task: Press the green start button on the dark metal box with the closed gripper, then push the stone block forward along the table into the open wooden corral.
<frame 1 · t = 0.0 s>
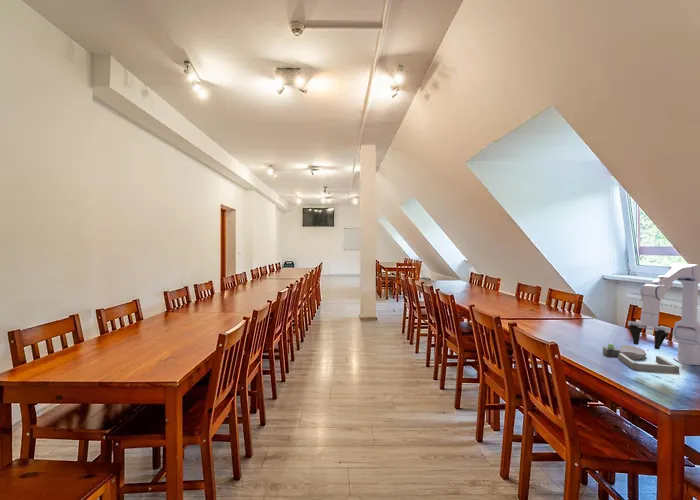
hand: (646, 346, 155), 11 cm above the table, tool pointing down, fingers open, 7 cm apart
start button: (610, 348, 179), point 3 cm above the table, slide at 0.0 cm
stone block: (632, 357, 177), on the table, touching button box
corral: (647, 365, 163), on the table
button box: (610, 354, 179), on the table
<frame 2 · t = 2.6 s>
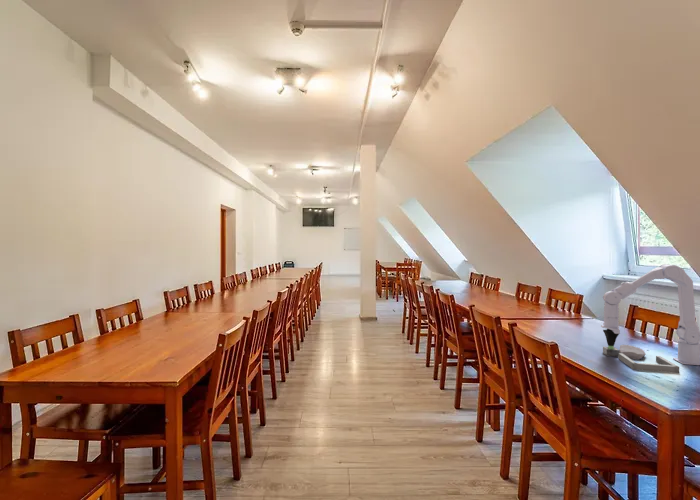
hand: (610, 345, 179), 4 cm above the table, tool pointing down, fingers closed, pressing on start button
start button: (610, 349, 179), point 2 cm above the table, slide at 0.7 cm, touching gripper
stone block: (632, 357, 177), on the table
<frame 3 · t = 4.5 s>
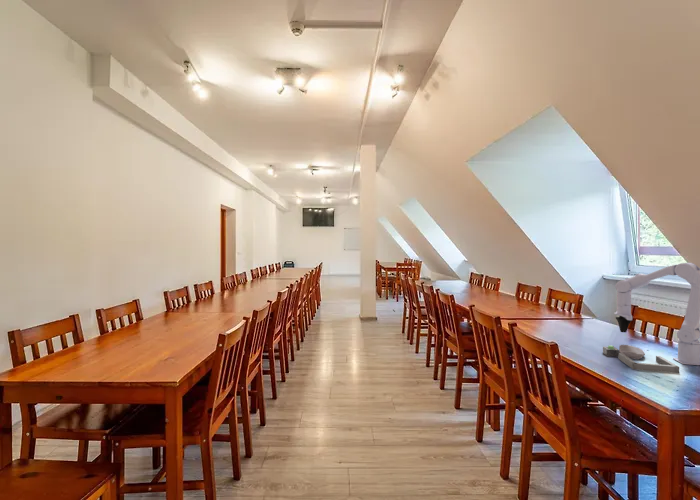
hand: (623, 332, 187), 9 cm above the table, tool pointing down, fingers closed
start button: (610, 350, 179), point 2 cm above the table, slide at 0.9 cm
everything else where it was.
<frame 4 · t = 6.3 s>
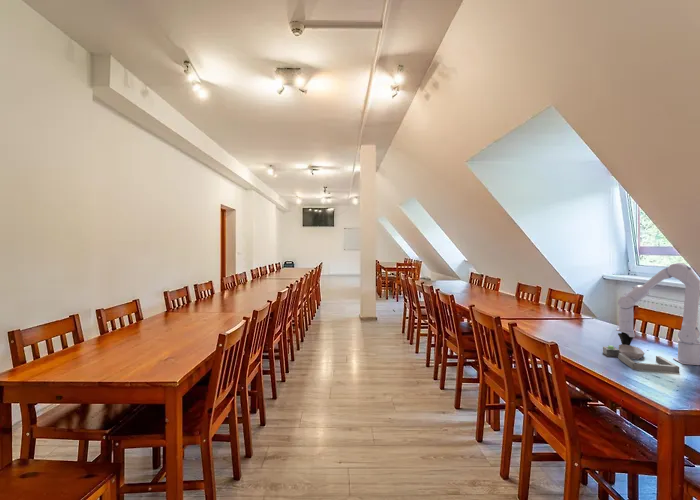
hand: (625, 348, 185), 1 cm above the table, tool pointing down, fingers closed
stone block: (631, 356, 178), on the table, touching gripper
everything else where it was.
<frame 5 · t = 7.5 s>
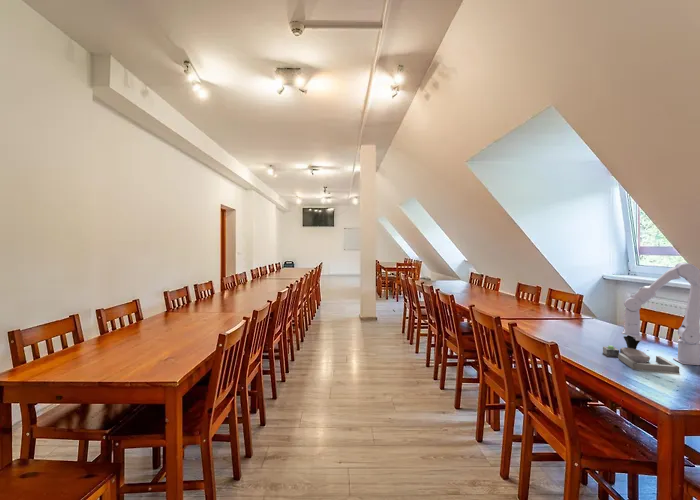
hand: (631, 352, 178), 1 cm above the table, tool pointing down, fingers closed
stone block: (635, 360, 172), on the table, touching gripper
everything else where it was.
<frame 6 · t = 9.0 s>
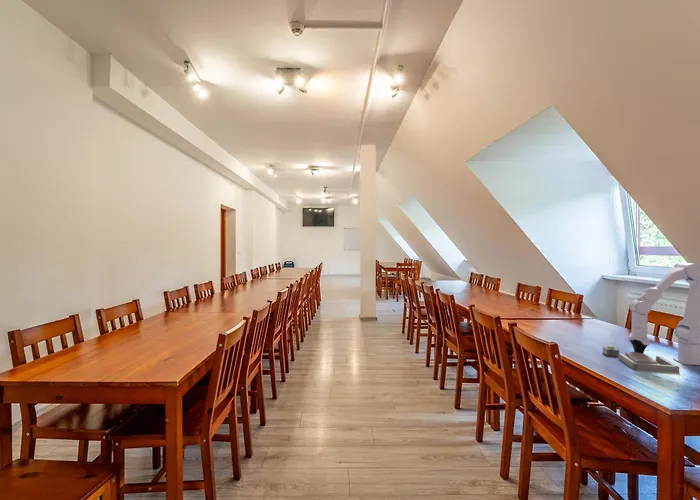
hand: (638, 356, 171), 1 cm above the table, tool pointing down, fingers closed
stone block: (642, 365, 165), on the table
everything else where it was.
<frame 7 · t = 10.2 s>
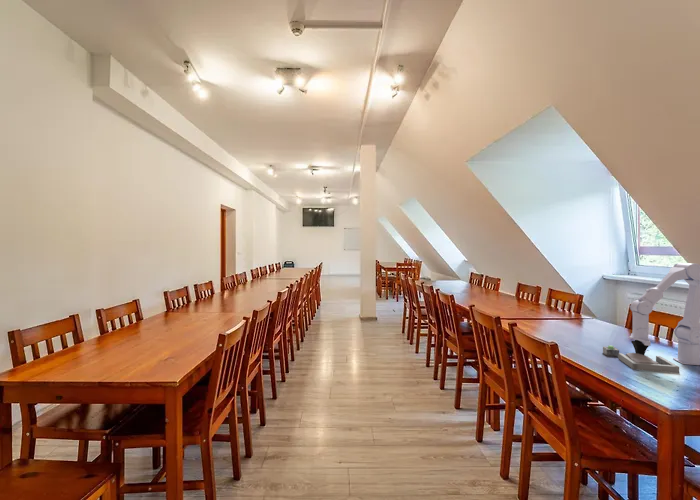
hand: (639, 357, 170), 1 cm above the table, tool pointing down, fingers closed
stone block: (642, 366, 164), on the table
everything else where it was.
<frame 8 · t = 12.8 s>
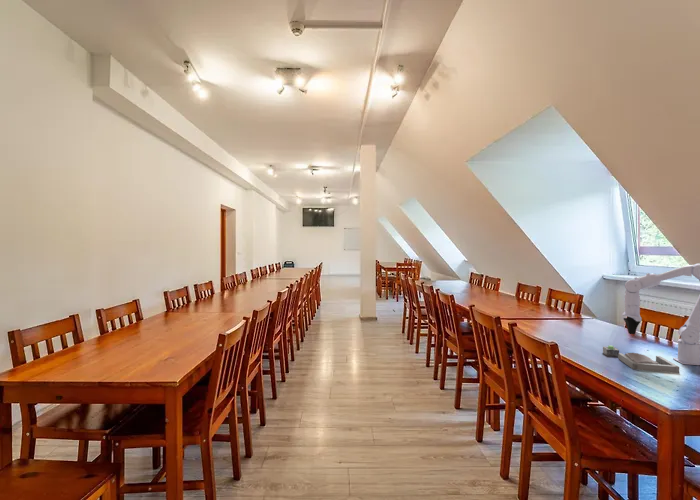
hand: (631, 333, 179), 10 cm above the table, tool pointing down, fingers closed
nothing on the table moved.
at the end: stone block inside the target area (1.7 cm from its centre), on the table; start button slide at 0.9 cm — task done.
